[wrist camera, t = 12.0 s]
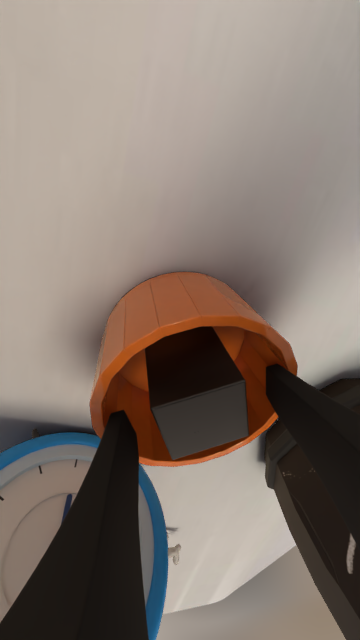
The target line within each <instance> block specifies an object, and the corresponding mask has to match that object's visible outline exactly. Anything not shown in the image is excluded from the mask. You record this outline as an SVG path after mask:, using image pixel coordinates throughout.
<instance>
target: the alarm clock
mask: <svg viewBox="0 0 360 640" xmlns="http://www.w3.org/2000/svg"><path fill="white" fill-rule="evenodd" d="M100 441H101V439H100V438H99V436H96V435H92V434H86V433H77V432H65V433H55V434H49V435H44V436H39V433H38V431H37V429H34V430H33V431H32V439H30V440H27V441H25V442H22V443H20V444H18V445H15V446H13V447H11V448H9V449H7V450H5V451H3V452H2V453H0V622H1V621H2V619H3V618H4V616H5V615H6V613H7V612H8V610H9V609H10V607H11V606H12V604H13V603H14V601H15V600H16V598H17V597H18V595H19V594H20V592H21V590H22V589H23V587H24V586H25V584H26V583H27V581H28V579H29V578H30V576H31V575H32V573H33V572H34V570H35V568H36V567H37V565H38V564H39V562H40V560H41V559H42V557H43V555H44V554H45V552H46V550H47V549H48V547H49V545H50V543H51V542H52V540H53V538H54V536H55V535H56V533H57V531H58V529H59V528H60V526H61V524H62V522H63V520H64V518H65V517H66V515H67V513H68V511H69V509H70V507H71V505H72V503H73V501H74V499H75V497H76V495H77V493H78V491H79V489H80V487H81V485H82V483H83V480H84V478H85V476H86V474H87V472H88V470H89V467H90V465H91V463H92V460H93V458H94V455H95V453H96V451H97V448H98V446H99V443H100ZM138 517H139V537H140V551H141V564H142V576H143V587H144V598H145V608H146V618H147V628H148V636H149V640H156V637H157V634H158V630H159V626H160V622H161V617H162V613H163V608H164V602H165V596H166V588H167V578H168V542H167V532H166V525H165V520H164V516H163V511H162V508H161V504H160V501H159V499H158V496H157V493H156V491H155V489H154V487H153V484H152V482H151V481H150V479H149V477H148V475H147V474H146V472H145V471H144V469H143V468H142V467H141V465H140V464H139V503H138Z"/></svg>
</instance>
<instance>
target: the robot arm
mask: <svg viewBox="0 0 360 640" xmlns="http://www.w3.org/2000/svg"><path fill="white" fill-rule="evenodd" d="M266 396H267V398H268V400H269V401H270V403H271V405H272V407H273V409H274V411H275V412H276V414H277V415H278V417H279V418H280V420H281V421H282V423H283V424H284V426H285V427H286V428H287V430H288V431H289V433H290V434H291V436H292V437H293V438H294V440H295V441H296V443H297V444H298V446H299V447H300V448H301V450H302V451H303V453H304V454H305V456H306V457H307V458H308V460H309V462H310V463H311V465H312V466H313V468H314V469H315V471H316V473H317V475H318V476H319V478H320V480H321V481H322V483H323V485H324V486H325V488H326V490H327V492H328V493H329V495H330V497H331V499H332V501H333V502H334V504H335V506H336V508H337V509H338V511H339V513H340V515H341V517H342V518H343V520H344V522H345V524H346V526H347V528H348V530H349V531H350V533H351V535H352V537H353V539H354V541H355V543H356V544H357V546H358V548H359V550H360V414H359V413H357V412H355V411H353V410H351V409H349V408H348V407H346V406H344V405H342V404H340V403H339V402H337V401H335V400H333V399H332V398H330V397H328V396H327V395H325V394H324V393H322V392H320V391H319V390H317V389H315V388H314V387H312V386H311V385H309V384H308V383H306V382H304V381H303V380H301V379H300V378H298V377H297V376H295V375H294V374H292V373H291V372H289V371H288V370H286V369H285V368H284V367H282V366H281V365H279V364H274V365H271V366H267V367H266ZM138 503H139V453H138V442H137V434H136V432H135V430H134V428H133V426H132V424H131V422H130V420H129V419H128V417H127V415H126V413H125V411H124V410H120V411H117V412H114V413H111V414H110V416H109V419H108V422H107V424H106V427H105V430H104V433H103V435H102V438H101V441H100V443H99V446H98V448H97V451H96V453H95V455H94V458H93V460H92V463H91V465H90V467H89V470H88V472H87V474H86V476H85V478H84V480H83V483H82V485H81V487H80V489H79V491H78V493H77V495H76V497H75V499H74V501H73V503H72V505H71V507H70V509H69V511H68V513H67V515H66V517H65V518H64V520H63V522H62V524H61V526H60V528H59V529H58V531H57V533H56V535H55V536H54V538H53V540H52V542H51V543H50V545H49V547H48V549H47V550H46V552H45V554H44V555H43V557H42V559H41V560H40V562H39V564H38V565H37V567H36V568H35V570H34V572H33V573H32V575H31V576H30V578H29V579H28V581H27V583H26V584H25V586H24V587H23V589H22V590H21V592H20V594H19V595H18V597H17V598H16V600H15V601H14V603H13V604H12V606H11V607H10V609H9V610H8V612H7V613H6V615H5V616H4V618H3V619H2V621H1V622H0V640H149V636H148V628H147V618H146V608H145V598H144V587H143V576H142V564H141V551H140V537H139V517H138Z"/></svg>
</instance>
